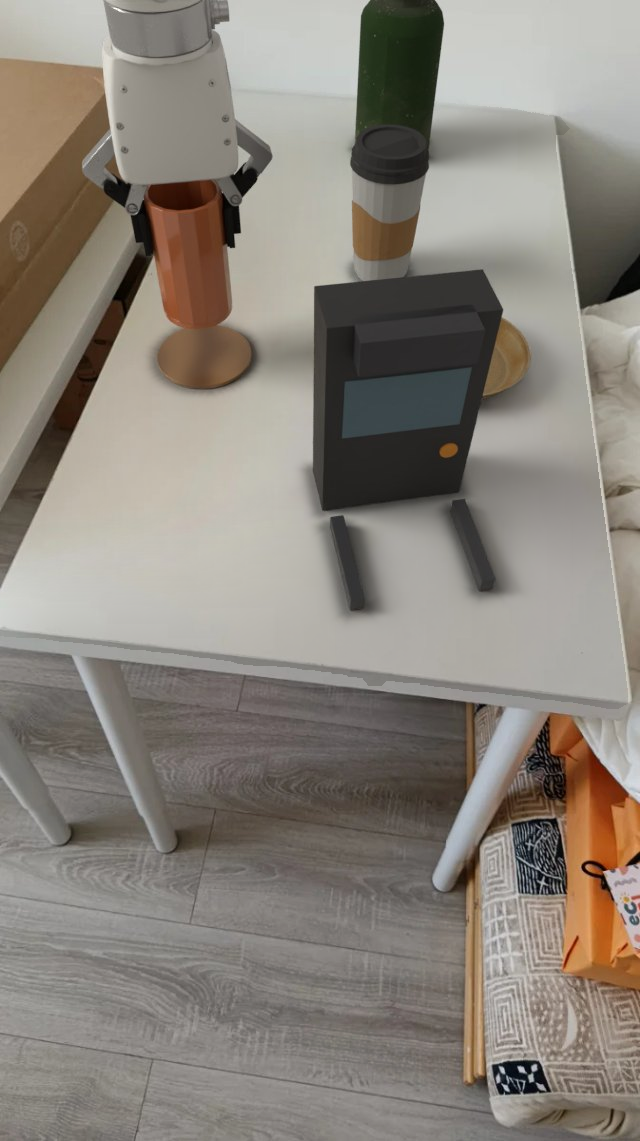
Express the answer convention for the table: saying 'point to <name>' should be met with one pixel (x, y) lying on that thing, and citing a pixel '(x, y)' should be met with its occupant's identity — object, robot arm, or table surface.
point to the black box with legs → (400, 398)
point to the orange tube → (190, 252)
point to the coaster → (204, 357)
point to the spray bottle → (398, 64)
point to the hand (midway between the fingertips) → (189, 242)
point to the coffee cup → (386, 198)
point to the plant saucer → (507, 360)
